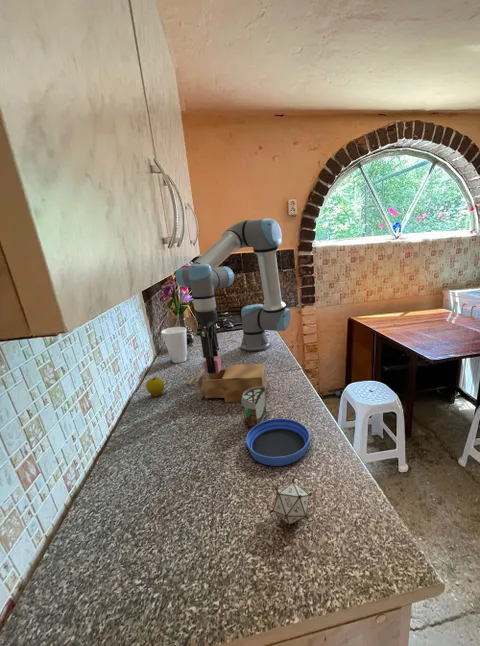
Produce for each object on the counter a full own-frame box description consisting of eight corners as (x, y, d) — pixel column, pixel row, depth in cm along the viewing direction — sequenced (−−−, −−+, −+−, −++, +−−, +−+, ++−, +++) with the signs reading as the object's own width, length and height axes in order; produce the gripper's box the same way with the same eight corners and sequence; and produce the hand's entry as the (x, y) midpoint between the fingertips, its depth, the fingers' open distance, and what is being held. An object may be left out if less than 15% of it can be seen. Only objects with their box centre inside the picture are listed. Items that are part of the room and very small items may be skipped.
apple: (165, 389, 127) (161, 372, 124) (166, 396, 121) (162, 378, 118) (148, 393, 124) (144, 375, 122) (148, 400, 119) (144, 381, 116)
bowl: (234, 450, 89) (232, 439, 87) (277, 421, 101) (276, 412, 100) (280, 478, 77) (280, 467, 76) (322, 442, 90) (322, 432, 89)
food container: (250, 409, 109) (247, 384, 105) (267, 410, 108) (265, 385, 104) (238, 430, 98) (234, 402, 94) (257, 431, 96) (254, 403, 93)
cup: (190, 362, 153) (185, 332, 148) (165, 366, 151) (159, 334, 145) (192, 354, 164) (187, 325, 158) (168, 357, 162) (162, 328, 156)
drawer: (186, 400, 116) (183, 381, 113) (195, 386, 126) (192, 369, 124) (233, 398, 115) (231, 379, 112) (238, 384, 126) (236, 367, 123)
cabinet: (224, 402, 115) (221, 378, 112) (231, 386, 127) (228, 365, 123) (263, 400, 114) (262, 377, 111) (266, 385, 126) (265, 363, 123)
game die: (301, 531, 67) (323, 520, 61) (264, 532, 64) (283, 520, 57) (297, 488, 73) (316, 474, 66) (263, 487, 70) (280, 471, 63)
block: (221, 367, 120) (220, 355, 118) (218, 373, 115) (217, 360, 113) (209, 368, 120) (207, 356, 118) (205, 373, 115) (203, 361, 113)
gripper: (202, 304, 118) (210, 361, 126) (186, 316, 101) (197, 380, 109) (221, 303, 117) (228, 360, 126) (209, 315, 101) (218, 379, 109)
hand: (213, 369), depth 117 cm, fingers closed on block, 5 cm apart
